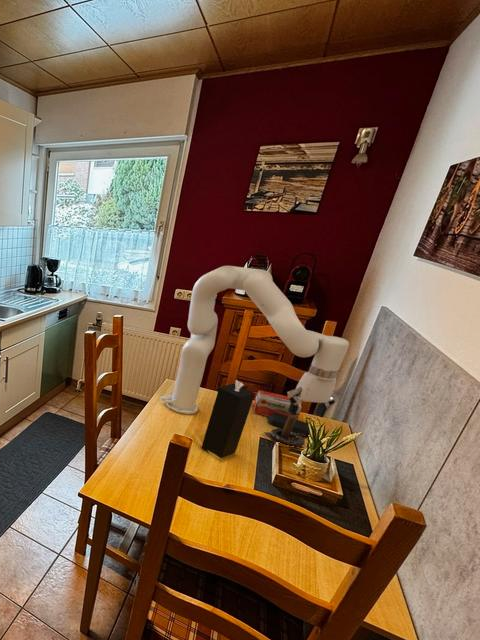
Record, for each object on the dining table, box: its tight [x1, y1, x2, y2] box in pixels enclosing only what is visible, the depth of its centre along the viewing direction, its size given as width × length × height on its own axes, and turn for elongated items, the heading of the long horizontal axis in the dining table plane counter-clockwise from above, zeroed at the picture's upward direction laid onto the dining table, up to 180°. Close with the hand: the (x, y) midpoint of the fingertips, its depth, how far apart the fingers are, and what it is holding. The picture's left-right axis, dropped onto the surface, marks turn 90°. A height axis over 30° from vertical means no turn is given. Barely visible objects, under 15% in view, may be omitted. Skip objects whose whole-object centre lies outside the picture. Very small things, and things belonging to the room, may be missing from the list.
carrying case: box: [267, 413, 309, 438], centre depth 155 cm, size 11×3×15 cm
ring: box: [270, 427, 306, 447], centre depth 145 cm, size 10×10×2 cm
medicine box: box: [253, 389, 303, 420], centre depth 164 cm, size 15×8×8 cm, turn 60°
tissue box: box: [201, 379, 256, 459], centre depth 133 cm, size 8×8×28 cm
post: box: [263, 415, 305, 449], centre depth 144 cm, size 9×9×12 cm
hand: (305, 414), depth 141 cm, fingers open, 9 cm apart
